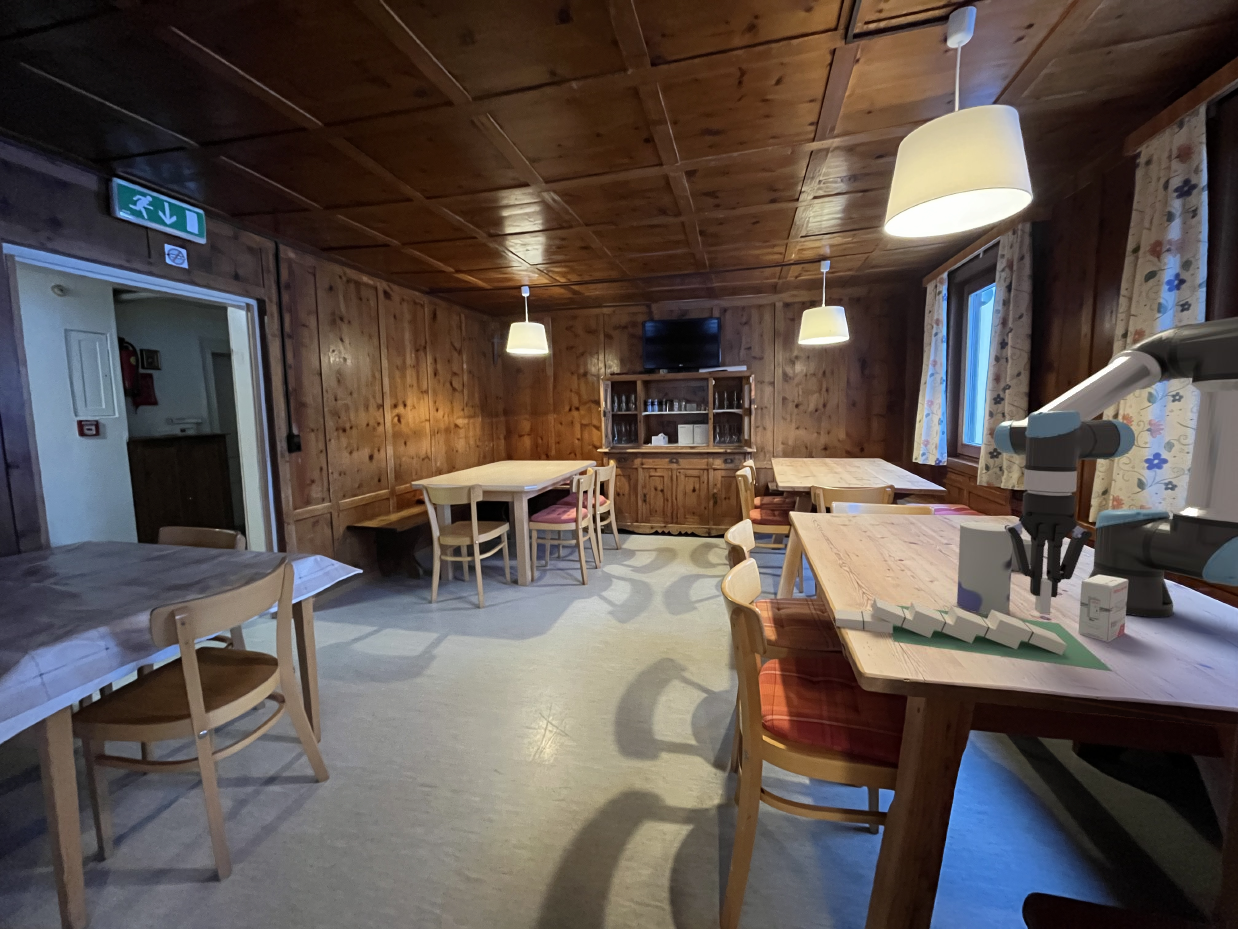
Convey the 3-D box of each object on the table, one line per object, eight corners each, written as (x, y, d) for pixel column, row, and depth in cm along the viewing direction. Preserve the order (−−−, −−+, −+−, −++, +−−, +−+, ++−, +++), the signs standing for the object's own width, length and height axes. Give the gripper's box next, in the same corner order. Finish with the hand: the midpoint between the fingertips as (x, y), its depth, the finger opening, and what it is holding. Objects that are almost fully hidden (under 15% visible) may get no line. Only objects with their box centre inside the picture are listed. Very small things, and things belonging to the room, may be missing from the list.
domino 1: (889, 613, 109) (835, 608, 113) (892, 622, 103) (835, 618, 108) (889, 623, 109) (835, 618, 113) (892, 633, 104) (835, 628, 108)
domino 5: (1054, 633, 97) (991, 609, 101) (1067, 645, 92) (1000, 619, 96) (1049, 643, 98) (986, 618, 102) (1061, 655, 93) (995, 629, 96)
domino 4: (1011, 628, 100) (951, 605, 104) (1021, 639, 95) (957, 615, 99) (1006, 637, 101) (947, 615, 104) (1016, 649, 95) (953, 625, 99)
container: (1018, 617, 111) (1022, 530, 109) (968, 614, 113) (971, 529, 112) (995, 601, 121) (999, 521, 119) (949, 599, 123) (953, 520, 121)
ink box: (1095, 626, 106) (1098, 572, 105) (1126, 634, 102) (1130, 579, 101) (1076, 635, 102) (1080, 579, 101) (1108, 644, 98) (1112, 586, 97)
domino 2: (929, 618, 106) (875, 597, 109) (934, 628, 101) (877, 606, 104) (925, 627, 106) (871, 606, 110) (930, 638, 101) (873, 615, 105)
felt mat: (1058, 625, 107) (1058, 623, 107) (1112, 673, 87) (1112, 671, 87) (882, 605, 120) (882, 603, 120) (893, 643, 100) (893, 641, 100)
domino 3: (969, 623, 103) (912, 601, 107) (976, 633, 98) (916, 610, 102) (964, 632, 103) (908, 610, 107) (971, 643, 98) (912, 620, 102)
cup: (1038, 570, 145) (1040, 541, 144) (1020, 575, 140) (1021, 546, 139) (1009, 563, 151) (1010, 536, 151) (990, 568, 147) (991, 540, 146)
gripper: (1083, 490, 94) (1076, 609, 97) (1000, 488, 100) (995, 601, 102) (1103, 496, 88) (1095, 624, 90) (1013, 493, 93) (1007, 614, 95)
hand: (1042, 612), depth 96 cm, fingers closed
